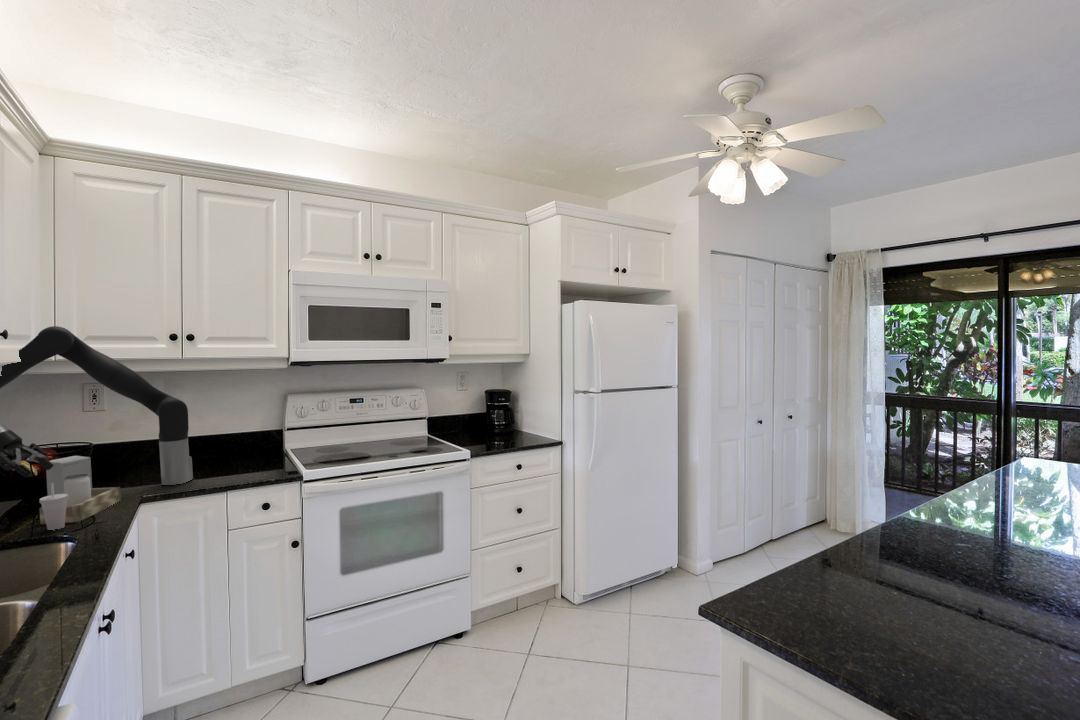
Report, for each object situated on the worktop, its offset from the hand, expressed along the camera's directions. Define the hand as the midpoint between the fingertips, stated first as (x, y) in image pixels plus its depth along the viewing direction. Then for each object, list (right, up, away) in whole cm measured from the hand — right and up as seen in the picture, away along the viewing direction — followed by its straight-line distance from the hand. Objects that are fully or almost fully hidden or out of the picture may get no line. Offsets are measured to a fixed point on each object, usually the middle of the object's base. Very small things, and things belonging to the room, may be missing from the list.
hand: (40, 471), depth 167 cm
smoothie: (+16, -15, -12) cm, 25 cm away
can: (+11, -14, +2) cm, 18 cm away
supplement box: (-3, -14, +14) cm, 20 cm away
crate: (+12, -14, +2) cm, 18 cm away
